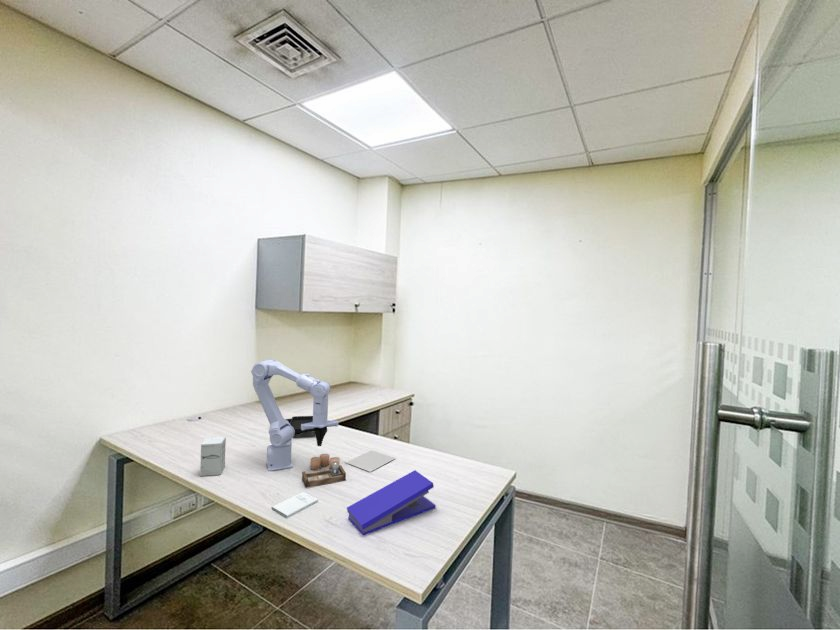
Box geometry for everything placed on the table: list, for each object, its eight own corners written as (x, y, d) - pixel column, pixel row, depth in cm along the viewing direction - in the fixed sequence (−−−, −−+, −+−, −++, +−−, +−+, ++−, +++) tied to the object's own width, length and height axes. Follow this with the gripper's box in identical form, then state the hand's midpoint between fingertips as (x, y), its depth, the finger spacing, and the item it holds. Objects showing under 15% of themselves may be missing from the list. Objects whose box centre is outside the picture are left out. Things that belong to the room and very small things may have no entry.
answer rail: (305, 488, 136) (305, 479, 136) (302, 479, 142) (302, 471, 142) (345, 480, 143) (345, 472, 143) (340, 472, 149) (341, 465, 149)
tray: (261, 430, 193) (261, 420, 193) (298, 419, 212) (298, 410, 212) (299, 444, 177) (300, 433, 177) (335, 430, 196) (335, 421, 196)
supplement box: (199, 477, 141) (200, 444, 141) (205, 468, 148) (205, 437, 148) (221, 475, 143) (221, 442, 143) (225, 466, 150) (226, 436, 150)
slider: (332, 477, 142) (333, 466, 141) (329, 472, 146) (329, 460, 146) (341, 476, 143) (341, 464, 143) (337, 470, 148) (338, 459, 147)
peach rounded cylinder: (320, 467, 153) (320, 458, 153) (318, 463, 156) (318, 454, 156) (330, 466, 155) (330, 456, 155) (327, 462, 158) (328, 452, 158)
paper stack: (413, 465, 159) (413, 464, 159) (374, 489, 138) (374, 487, 138) (371, 451, 172) (371, 450, 172) (330, 471, 151) (330, 469, 151)
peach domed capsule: (311, 471, 149) (311, 461, 149) (309, 467, 153) (309, 457, 153) (321, 469, 151) (321, 460, 151) (319, 465, 155) (319, 456, 155)
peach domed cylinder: (330, 471, 150) (330, 461, 150) (328, 467, 153) (328, 458, 153) (340, 469, 152) (340, 460, 152) (337, 465, 155) (338, 456, 155)
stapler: (436, 509, 126) (437, 481, 126) (362, 538, 109) (363, 505, 109) (416, 494, 135) (417, 468, 135) (345, 519, 118) (346, 489, 118)
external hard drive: (271, 511, 122) (302, 495, 132) (286, 520, 117) (318, 503, 127) (271, 506, 122) (302, 490, 132) (286, 515, 117) (318, 498, 127)
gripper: (303, 416, 144) (302, 451, 144) (340, 413, 150) (339, 446, 151) (300, 411, 150) (299, 444, 151) (336, 408, 156) (335, 440, 157)
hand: (319, 445), depth 151 cm, fingers closed
